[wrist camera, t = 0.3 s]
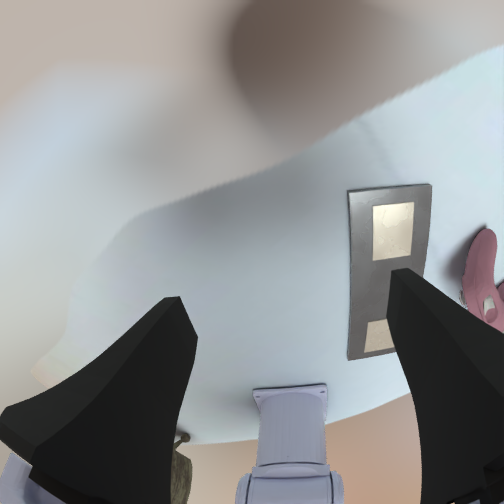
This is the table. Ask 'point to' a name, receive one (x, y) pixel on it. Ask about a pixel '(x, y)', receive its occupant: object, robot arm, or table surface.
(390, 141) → the table surface
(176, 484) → the tabletop clock
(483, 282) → the video game controller
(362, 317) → the label panel
